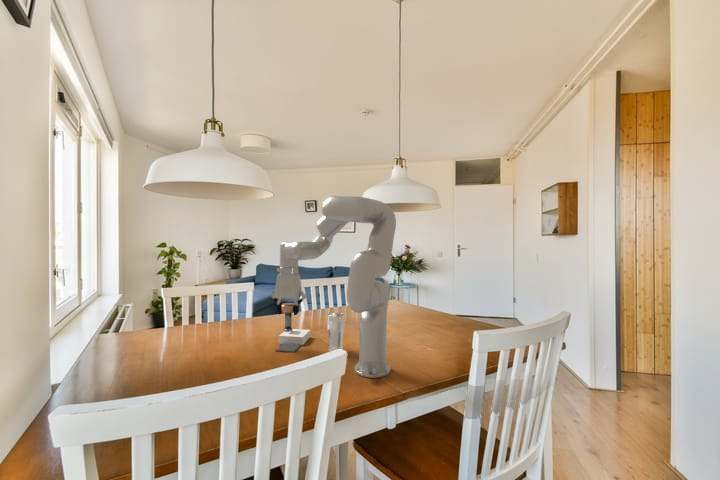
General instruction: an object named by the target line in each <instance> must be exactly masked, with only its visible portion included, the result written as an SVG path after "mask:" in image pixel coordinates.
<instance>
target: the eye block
mask: <svg viewBox="0 0 720 480" xmlns="http://www.w3.org/2000/svg"><path fill="white" fill-rule="evenodd" d="M310 338H311V329H302V328H299V329H298V328H297V329H296V328H293V330H292V331H290V332H285V331H284V330H283V332H282V333H280V334H279V335H278V341H277V343H278V345H282V344H300V345H301V346H304V345H305V343H307V341H308V340H310Z"/></svg>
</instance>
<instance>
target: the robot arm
mask: <svg viewBox="0 0 720 480" xmlns="http://www.w3.org/2000/svg"><path fill="white" fill-rule="evenodd" d="M321 213H322V217H320V218H319V219H318V220H317V222H316V228H317V231H318V232H319V234H318V235H317V237H315V238H314V239H313V240H312V241H282V242H281V243H280V244H279V245H280V246H279V267H277V268H276V272H278V274H277V276H276V281H275V290H274V291H273V292H272V293H271V294H270V297H271V298H272V299H273V301H274V302H275V303H276V305H277V312H278V315H281V314H283V313H282V312H281V304H283V301H284V300H293V303H295V306H294V313H293V316H297V315H298V314H299V313H300V304H301V303H302V302H303V301H304V300H305V299H306V298H307V297H308V295H307V294H306V293H305V292H303V290H302V282H301V281H302V280H301V275H300V274H299V261H307V260H308V261H309V260H310V261H311V260H315V259H318V258H319V257H321V256H322V255H323V254H324V253H325V252H326V251H328V250H329V248H330V247H331V245H332V243H333V239H334V237H335V236H336V235H337V234H338V233H339V232H340V231H341V230H342V229H344V227H346V226H347V225H348V224H349V223H350V222H352V223H362V224H371V225H372V226H373V227H372V229H371V232H370V233H369V236H368V242H367V243H368V244H367V249H366V250H363V251H360V252H358V253H357V254H356V255H354V257H353V258H352V261H351V262H350V267H349V272H348V279H347V289H346V302H347V305H348V307H349V309H350V310H352V311H353V312H355V313H359V314H360V315H359V324H358V325H359V327H358V329H359V331H358V332H359V333H358V335H359V337H358V338H359V339H358V340H359V341H358V343H359V344H358V363H356V364H355V366H354V372H355V373H356V374H357V375H359V376H361V377H363V378H369V379H370V378H371V379H372V378H373V379H376V378H384V377H386V376H388V375H389V374H390V373H391V369H392V368H391V366H390V365H389V364H388V363H387V317H388V308H389V301H390V292H389V289H388V287H387V285H386V284H385V282H383V281H381V280H378V278H381V277H384V276H386V275H387V274H388V272H389V271H390V268H391V260H392V252H393V247H394V246H393V245H394V239H395V233H396V228H397V226H396V225H397V218H396V215H395V213H394V210H393V209H392V208H391V207H390V206H389V205H388V204H386V203H385V202H382V201H381V200H377V199H373V198H369V197H364V196H343V195H341V196H340V195H337V196H336V195H332V196H331V195H330V196H329V197H328V198H326V199H324V201H323V203H322V206H321ZM376 279H377V280H376Z"/></svg>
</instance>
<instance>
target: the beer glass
mask: <svg viewBox="0 0 720 480" xmlns="http://www.w3.org/2000/svg"><path fill="white" fill-rule="evenodd" d="M326 325H327V334H328V340H329V341H328V342H329V344H328V348H327V349H328V350H327V351H328V352H329V351H332V350H335V349H343V350H344V347H343V337H344V332H345V314H344V313H343V312H330V313H327V324H326Z"/></svg>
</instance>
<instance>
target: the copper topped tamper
mask: <svg viewBox="0 0 720 480" xmlns="http://www.w3.org/2000/svg"><path fill="white" fill-rule="evenodd" d="M282 303H283V302H282ZM294 306H295V302H285V303H283V304H281V312H282V314H284V328H283V332H284V331H285V332H290V331H292V330H293V329H294V328H293V325H292V324H293V323H292V320H293V314H294Z"/></svg>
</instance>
